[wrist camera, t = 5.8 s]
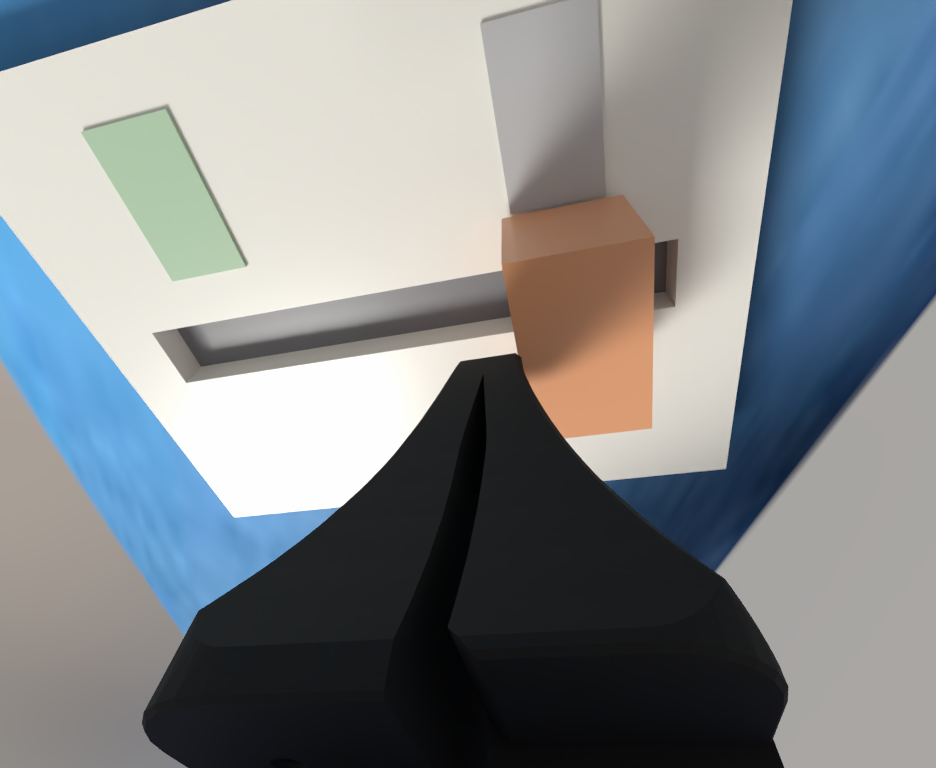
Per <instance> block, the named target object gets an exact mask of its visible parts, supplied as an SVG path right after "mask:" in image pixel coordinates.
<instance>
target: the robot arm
mask: <svg viewBox="0 0 936 768" xmlns="http://www.w3.org/2000/svg"><path fill="white" fill-rule="evenodd" d="M787 701H788V685H787V683H786V681H785V678H784V676H783V673H782V671H781V668H780V666H779V664H778V662H777V660H776V658H775V656H774V654H773V652H772V651H771V649H770V647H769V645H768V644H767V642H766V640H765V639H764V637H763V635H762V634H761V632H760V630H759V628H758V627H757V625H756V624H755V622H754V620H753V619H752V617H751V616H750V614H749V613H748V611H747V610H746V608H745V607H744V605H743V604H742V602H741V601H740V599H739V598H738V597H737V595H736V594H735V592H734V591H733V589H732V588H731V587H730V585H729V584H728V583H727V581H726V580H725V579H724V578H723V577H721V576H720V575H719V574H717V573H716V572H714V571H713V570H711V569H710V568H708V567H707V566H706V565H704V564H703V563H701V562H700V561H699V560H697V559H696V558H694V557H693V556H692V555H690V554H689V553H687V552H686V551H685V550H683V549H682V548H681V547H679V546H678V545H677V544H675V543H674V542H673V541H671V540H670V539H669V538H667V537H666V536H665V535H664V534H662V533H661V532H660V531H659V530H658V529H656V528H655V527H654V526H653V525H651V524H650V523H649V522H648V521H646V520H645V519H644V518H643V517H641V516H640V515H639V514H638V513H637V512H636V511H635V510H634V509H632V508H631V507H630V506H629V505H628V504H627V503H626V502H625V501H624V500H623V499H621V498H620V497H619V496H618V495H617V494H616V493H615V492H614V491H613V490H612V489H610V488H609V487H608V486H607V485H606V484H605V483H604V482H603V481H602V480H601V479H600V478H599V477H598V476H597V475H596V474H595V473H594V472H593V471H592V470H591V469H590V467H589V466H588V465H587V464H586V463H585V462H584V461H583V460H582V459H581V458H580V456H579V455H578V454H577V453H576V452H575V451H574V450H573V448H572V447H571V446H570V445H569V443H568V442H567V441H566V440H565V438H564V437H563V436H562V435H561V433H560V432H559V430H558V429H557V428H556V426H555V425H554V423H553V422H552V421H551V419H550V418H549V416H548V415H547V413H546V412H545V410H544V409H543V407H542V405H541V404H540V402H539V400H538V399H537V397H536V395H535V393H534V392H533V390H532V388H531V386H530V384H529V381H528V379H527V377H526V375H525V372H524V369H523V364H522V358H521V356H519V355H518V354H516V353H512V354H506V355H499V356H492V357H486V358H479V359H472V360H465V361H460V362H459V364H458V365H457V366H456V368H455V369H454V371H453V372H452V374H451V375H450V377H449V379H448V380H447V382H446V383H445V385H444V387H443V388H442V390H441V391H440V393H439V394H438V396H437V397H436V399H435V400H434V402H433V403H432V405H431V406H430V407H429V409H428V410H427V412H426V413H425V415H424V416H423V418H422V419H421V420H420V422H419V423H418V424H417V426H416V427H415V428H414V430H413V431H412V432H411V433H410V435H409V436H408V437H407V439H406V440H405V441H404V442H403V444H402V445H401V446H400V447H399V449H398V450H397V451H396V452H395V454H394V455H393V456H392V457H391V458H390V459H389V460H388V462H387V463H386V464H385V465H384V466H383V467H382V468H381V469H380V470H379V471H378V472H377V473H376V474H375V475H374V476H373V477H372V478H371V479H370V481H369V482H368V483H367V484H366V485H365V486H363V487H362V488H361V489H360V490H359V491H358V492H357V493H356V494H355V495H354V496H353V497H352V498H350V499H349V500H348V501H347V502H346V503H345V504H344V505H343V506H341V507H340V508H339V509H338V510H337V511H336V512H335V513H334V514H333V515H331V516H330V517H329V518H328V519H327V520H326V521H325V522H323V523H322V524H321V525H320V526H319V527H317V528H316V529H315V530H314V531H312V532H311V533H310V534H309V535H307V536H306V537H305V538H304V539H302V540H301V541H300V542H298V543H297V544H296V545H294V546H293V547H292V548H290V549H289V550H288V551H286V552H285V553H284V554H282V555H281V556H280V557H278V558H277V559H276V560H274V561H273V562H271V563H270V564H269V565H267V566H266V567H264V568H263V569H262V570H260V571H259V572H257V573H256V574H254V575H253V576H251V577H250V578H248V579H247V580H245V581H244V582H242V583H241V584H239V585H238V586H236V587H235V588H233V589H232V590H230V591H228V592H227V593H225V594H224V595H222V596H221V597H219V598H218V599H216V600H215V601H213V602H212V603H210V604H209V605H207V606H205V607H204V608H202V609H201V610H199V611H198V613H197V615H196V617H195V618H194V620H193V622H192V624H191V626H190V627H189V629H188V631H187V633H186V635H185V637H184V639H183V640H182V642H181V644H180V646H179V648H178V650H177V652H176V654H175V656H174V657H173V659H172V661H171V663H170V665H169V667H168V668H167V670H166V672H165V674H164V676H163V678H162V680H161V681H160V683H159V685H158V687H157V689H156V691H155V693H154V695H153V696H152V698H151V700H150V702H149V704H148V706H147V708H146V710H145V711H144V714H143V720H142V725H143V728H144V731H145V733H146V734H147V736H148V738H149V739H150V741H151V742H152V743H153V744H154V745H156V746H157V747H158V748H159V749H161V750H162V751H163V752H164V753H166V754H168V755H169V756H171V757H172V758H174V759H176V760H177V761H178V762H180V763H182V764H183V765H185V766H186V767H188V768H784V766H783V763H782V761H781V759H780V756H779V753H778V751H777V748H776V746H775V743H774V740H773V737H774V734H775V732H776V729H777V727H778V724H779V722H780V719H781V717H782V714H783V712H784V709H785V706H786V704H787Z"/></svg>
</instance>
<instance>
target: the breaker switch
mask: <svg viewBox="0 0 936 768" xmlns="http://www.w3.org/2000/svg"><path fill="white" fill-rule="evenodd" d="M654 259H655V236H654V235H653V233H652V232H651V231H650V229H649V228H648V227H647V225H646V224H645V223H644V222H643V220H642V219H641V218H640V216H639V215H638V214H637V212H636V211H635V210H634V208H633V207H632V206H631V204H630V203H629V202H628V200H627V199H626V198H625V196H624V195H618V196H613V197H608V198H603V199H598V200H593V201H588V202H583V203H578V204H573V205H568V206H563V207H558V208H553V209H548V210H542V211H537V212H532V213H527V214H522V215H517V216H512V217H507V218H502V244H501V265H502V270H503V276H504V281H505V287H506V292H507V298H508V303H509V309H510V314H511V320H512V325H513V331H514V336H515V342H516V347H517V353H518V355H519V356H521V358H522V364H523V369H524V372H525V375H526V377H527V379H528V381H529V384H530V386H531V388H532V390H533V392H534V393H535V395H536V397H537V399H538V400H539V402H540V404H541V405H542V407H543V409H544V410H545V412H546V413H547V415H548V416H549V418H550V419H551V421H552V422H553V423H554V425H555V426H556V428H557V429H558V430H559V432H560V433H561V435H562V436H563V437H564V438H573V437H582V436H591V435H599V434H608V433H617V432H626V431H634V430H643V429H652V401H653V330H654Z"/></svg>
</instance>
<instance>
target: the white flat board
mask: <svg viewBox="0 0 936 768" xmlns="http://www.w3.org/2000/svg"><path fill="white" fill-rule="evenodd" d="M792 3H793V0H231V1H228V2H225V3H221V4H218V5H215V6H212V7H208V8H205V9H202V10H199V11H195V12H192V13H189V14H186V15H182V16H179V17H176V18H173V19H169V20H166V21H163V22H160V23H156V24H153V25H150V26H147V27H143V28H140V29H137V30H134V31H130V32H127V33H124V34H121V35H117V36H114V37H111V38H108V39H104V40H101V41H98V42H95V43H91V44H88V45H85V46H82V47H78V48H75V49H72V50H69V51H65V52H62V53H59V54H56V55H52V56H49V57H46V58H43V59H39V60H36V61H33V62H30V63H26V64H23V65H20V66H17V67H13V68H10V69H7V70H4V71H0V215H1V216H2V218H3V219H4V220H5V221H6V223H7V224H8V225H9V227H10V228H11V229H12V230H13V232H14V233H15V234H16V236H17V237H18V238H19V240H20V241H21V242H22V243H23V245H24V246H25V247H26V249H27V250H28V251H29V252H30V254H31V255H32V256H33V258H34V259H35V260H36V262H37V263H38V264H39V265H40V267H41V268H42V269H43V271H44V272H45V273H46V274H47V276H48V277H49V278H50V280H51V281H52V282H53V284H54V285H55V286H56V287H57V289H58V290H59V291H60V293H61V294H62V295H63V297H64V298H65V299H66V300H67V302H68V303H69V304H70V306H71V307H72V308H73V309H74V311H75V312H76V313H77V315H78V316H79V317H80V319H81V320H82V321H83V322H84V324H85V325H86V326H87V328H88V329H89V330H90V331H91V333H92V334H93V335H94V337H95V338H96V339H97V341H98V342H99V343H100V344H101V346H102V347H103V348H104V350H105V351H106V352H107V353H108V355H109V356H110V357H111V359H112V360H113V361H114V363H115V364H116V365H117V366H118V368H119V369H120V370H121V372H122V373H123V374H124V375H125V377H126V378H127V379H128V381H129V382H130V383H131V385H132V386H133V387H134V388H135V390H136V391H137V392H138V394H139V395H140V396H141V397H142V399H143V400H144V401H145V403H146V404H147V405H148V407H149V408H150V409H151V410H152V412H153V413H154V414H155V416H156V417H157V418H158V419H159V421H160V422H161V423H162V425H163V426H164V427H165V429H166V430H167V431H168V432H169V434H170V435H171V436H172V438H173V439H174V440H175V441H176V443H177V444H178V445H179V447H180V448H181V449H182V451H183V452H184V453H185V454H186V456H187V457H188V458H189V460H190V461H191V462H192V463H193V465H194V466H195V467H196V469H197V470H198V471H199V473H200V474H201V475H202V476H203V478H204V479H205V480H206V482H207V483H208V484H209V485H210V487H211V488H212V489H213V491H214V492H215V493H216V495H217V496H218V497H219V498H220V500H221V501H222V502H223V504H224V505H225V506H226V508H227V509H228V510H229V511H230V513H231V514H232V515H233V517H244V516H254V515H264V514H275V513H285V512H295V511H305V510H315V509H325V508H335V507H341V506H343V505H344V504H345V503H346V502H347V501H348V500H349V499H350V498H352V497H353V496H354V495H355V494H356V493H357V492H358V491H359V490H360V489H361V488H362V487H363V486H365V485H366V484H367V483H368V482H369V481H370V479H371V478H372V477H373V476H374V475H375V474H376V473H377V472H378V471H379V470H380V469H381V468H382V467H383V466H384V465H385V464H386V463H387V462H388V460H389V459H390V458H391V457H392V456H393V455H394V454H395V452H396V451H397V450H398V449H399V447H400V446H401V445H402V444H403V442H404V441H405V440H406V439H407V437H408V436H409V435H410V433H411V432H412V431H413V430H414V428H415V427H416V426H417V424H418V423H419V422H420V420H421V419H422V418H423V416H424V415H425V413H426V412H427V410H428V409H429V407H430V406H431V405H432V403H433V402H434V400H435V399H436V397H437V396H438V394H439V393H440V391H441V390H442V388H443V387H444V385H445V383H446V382H447V380H448V379H449V377H450V375H451V374H452V372H453V371H454V369H455V368H456V366H457V365H458V364H459V362H460V361H465V360H472V359H479V358H486V357H492V356H499V355H506V354H512V353H516V354H518V353H517V347H516V342H515V336H514V331H513V325H512V320H511V314H510V309H509V303H508V298H507V292H506V287H505V281H504V276H503V270H502V265H501V244H502V218H507V217H512V216H517V215H522V214H527V213H532V212H537V211H542V210H548V209H553V208H558V207H563V206H568V205H573V204H578V203H583V202H588V201H593V200H598V199H603V198H608V197H613V196H618V195H624V196H625V198H626V199H627V200H628V202H629V203H630V204H631V206H632V207H633V208H634V210H635V211H636V212H637V214H638V215H639V216H640V218H641V219H642V220H643V222H644V223H645V224H646V225H647V227H648V228H649V229H650V231H651V232H652V233H653V235H654V236H655V259H654V330H653V401H652V429H643V430H634V431H626V432H617V433H608V434H599V435H591V436H582V437H573V438H565V440H566V441H567V442H568V443H569V445H570V446H571V447H572V448H573V450H574V451H575V452H576V453H577V454H578V455H579V456H580V458H581V459H582V460H583V461H584V462H585V463H586V464H587V465H588V466H589V467H590V469H591V470H592V471H593V472H594V473H595V474H596V475H597V476H598V477H599V478H600V479H601V480H602V481H609V480H619V479H629V478H639V477H649V476H660V475H670V474H680V473H690V472H700V471H710V470H720V469H726V465H727V458H728V451H729V444H730V437H731V430H732V423H733V416H734V409H735V402H736V395H737V388H738V381H739V374H740V367H741V360H742V353H743V346H744V339H745V332H746V325H747V318H748V311H749V304H750V297H751V290H752V283H753V276H754V269H755V262H756V255H757V248H758V241H759V234H760V227H761V220H762V213H763V206H764V199H765V192H766V185H767V178H768V171H769V164H770V157H771V150H772V143H773V136H774V129H775V122H776V115H777V108H778V101H779V94H780V87H781V80H782V73H783V66H784V59H785V52H786V45H787V38H788V31H789V24H790V17H791V10H792Z"/></svg>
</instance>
